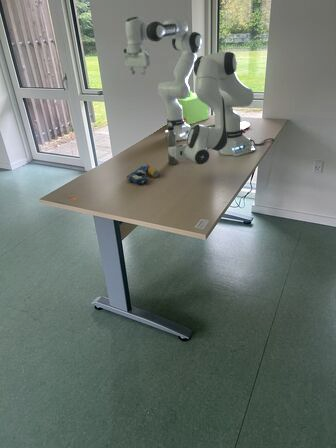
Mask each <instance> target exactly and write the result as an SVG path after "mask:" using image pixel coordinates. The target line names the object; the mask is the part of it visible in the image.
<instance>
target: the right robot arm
mask: <svg viewBox="0 0 336 448" xmlns="http://www.w3.org/2000/svg"><path fill="white" fill-rule="evenodd" d="M237 59H238V58H237V56H236V53H234V52H232V51H218V52H214V53H211V54H206V55H201V56H198V57H196V60H195V61H194V66H193V73H194V75H195V77H196V78H195V82H194V83H195V84H194V93H196V95H197V97H198V98H199V100H200V101H202V102H203V103H205V104H206V105H208V108H210V109H211V110H212V112H213V116H214V125H215V126H214V127H212V126H211V127H207V126H208V125H203V124H195V125H193V127H191V128H192V129H191V130H190V132H189V134H188V139H186V143H184V144H183V143H182V144H180V145H177V146H174V147H169V148H168V147H167V155H168V154H169V155H170V156H172V157H175V159H177V160H178V161H180V160H183V161H184V160H186V161H190V162H191V163H193V164H194V165H199V166H200V165H204V164H206V163H207V162H208V161H209V159H210V152H209V150H212V151H213V150H214V151H215V152H219V153H220V154H222V155H224V156H235V157H239V156H242V155H245V154H249V153H253V152H255V151H256V148H255V146H261V145H264V143H265V142H266V141H269V140H272V141H275V139H274V138H270V137H269V138H266V139H264V140H263V141H262V142H261V143H255V140H254V139H252V138H250V137H248V136H246V135H244V134H246V133H247V129H243V130H242V129H240V122H242V121H241V119H242V118H241V115H240V114H239V113H238V112H236V110H234V108H245V107H246V108H247V107H250V105H252V103H253V101H254V98H255V95H254V92H253V89H252V88H250V87H247V86H246V85H244V84H243V82H241V81H240V79H239V78H238V75H237V73H236V70H237V67H238V60H237ZM252 142H253V144H252ZM253 145H254V146H253Z"/></svg>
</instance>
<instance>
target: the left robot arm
mask: <svg viewBox="0 0 336 448" xmlns="http://www.w3.org/2000/svg"><path fill="white" fill-rule="evenodd" d="M125 36H126V39H127V43H126V44H127V46H126V47H125V48H123V49H122V54H123V56H122V57H123V65H124V66H125V67H128V68H129V70H130V74H131V75H136V71H135V70H134V68H138V67H139V68H141V69H142V71H141V76H145V75H146V74H147V73H146V71H147V68H148V67H151V65H152V62H151V56H150V54H149V51H148V50H147V48H144V46H143V45H144V44H143V42H156V43H157V42H160V41H161V40H162V39H163V38H165V39H167V40H171V45H172V48H173V49H174V50H176V51H179V52H180V51H181V56H180V57H179V59H178V61H177V63H176V65H175V68H174V69H173V75H174V77H175V79H174V80H173V81H169V80H166V81H162V82H160V83H159V84H158V86H157V94H158V96H159V97H160V98H161V99H162V101H163V103H164V105H165V108H166V116H167V119H166V124H167V127H168V126H174V130H173V131H174V132H175V133H176V142H177V141H187V139H188V134H189V132H190V130H191V129H192V128H193V127H192V126H191V125H188V124H186V123H185V121H184V120H187V118H185V117H184V118H183V112H182V106H181V105H180V104H179V103H178V101H177V99H185V98H187V97H188V96H189V93H190V91H191V89H190V88H191V87H190V85H189V84H188V83H189V82H188V81H189V77H190V75H191V73H192V71H193V70H194V61H195V60H196V59H197V53H198V52H199V51H200V49H201V46H202V45H203V38H202V35H201V33H199V32H197V31H189V25H188V23H187V22H186V20H184V19H180V18H171V19H167V20H164V22H163V23H161V22H160V21H157V20H156V21H150V22H144V21H142V20H141V19H140V18H139V17H138V16H132V17H128V18H127V19H126V20H125ZM206 126H207V127H211V128H212V127H215V124H211V125H206ZM168 132H169V130H168V128H166V130H165V133H166V134H167V133H168Z"/></svg>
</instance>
